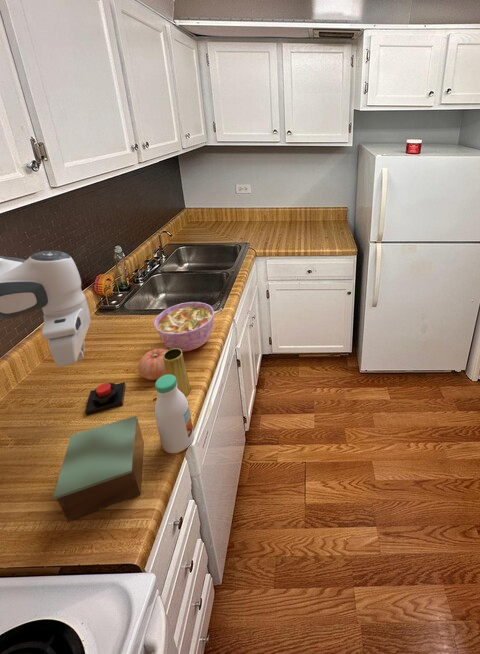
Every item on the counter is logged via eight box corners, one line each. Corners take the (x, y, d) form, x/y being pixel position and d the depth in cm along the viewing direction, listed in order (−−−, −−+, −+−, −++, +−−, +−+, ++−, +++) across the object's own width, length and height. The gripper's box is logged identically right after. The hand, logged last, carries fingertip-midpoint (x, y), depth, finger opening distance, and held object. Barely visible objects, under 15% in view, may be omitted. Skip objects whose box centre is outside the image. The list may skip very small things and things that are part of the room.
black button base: (86, 415, 92) (83, 406, 91) (92, 395, 99) (89, 386, 98) (122, 405, 96) (120, 396, 94) (125, 386, 103) (123, 377, 101)
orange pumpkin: (139, 389, 101) (133, 369, 98) (142, 366, 110) (137, 347, 107) (177, 380, 105) (173, 359, 102) (177, 358, 114) (173, 339, 111)
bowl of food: (189, 322, 134) (184, 297, 129) (228, 335, 126) (225, 309, 122) (147, 352, 117) (140, 324, 113) (190, 369, 109) (184, 340, 105)
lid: (132, 472, 69) (131, 470, 69) (53, 500, 64) (52, 497, 64) (137, 417, 82) (136, 415, 81) (71, 437, 77) (70, 434, 76)
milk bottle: (184, 457, 81) (171, 395, 74) (155, 451, 83) (140, 391, 75) (199, 429, 88) (189, 371, 81) (173, 425, 90) (160, 367, 82)
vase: (180, 381, 104) (173, 344, 99) (195, 388, 102) (188, 350, 96) (164, 395, 99) (156, 357, 94) (179, 402, 97) (171, 364, 91)
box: (140, 494, 73) (132, 468, 70) (67, 522, 68) (55, 495, 65) (144, 442, 85) (137, 417, 82) (81, 462, 80) (71, 437, 77)
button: (96, 398, 94) (94, 394, 93) (98, 389, 97) (97, 385, 97) (110, 394, 95) (109, 390, 95) (112, 385, 98) (111, 381, 98)
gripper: (63, 295, 91) (75, 337, 96) (38, 338, 73) (56, 386, 78) (90, 291, 93) (101, 332, 98) (72, 332, 76) (87, 379, 81)
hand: (81, 356), depth 88 cm, fingers closed
